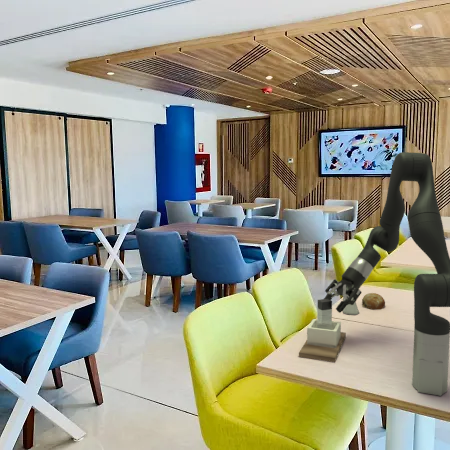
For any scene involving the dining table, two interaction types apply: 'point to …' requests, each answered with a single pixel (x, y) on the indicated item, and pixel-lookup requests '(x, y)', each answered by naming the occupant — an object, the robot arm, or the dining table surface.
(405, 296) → the dining table surface
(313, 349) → the serving board
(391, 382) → the dining table surface
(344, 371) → the dining table surface
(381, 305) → the bread roll
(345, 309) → the flask
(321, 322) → the grey tall bar
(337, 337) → the pale open square box
